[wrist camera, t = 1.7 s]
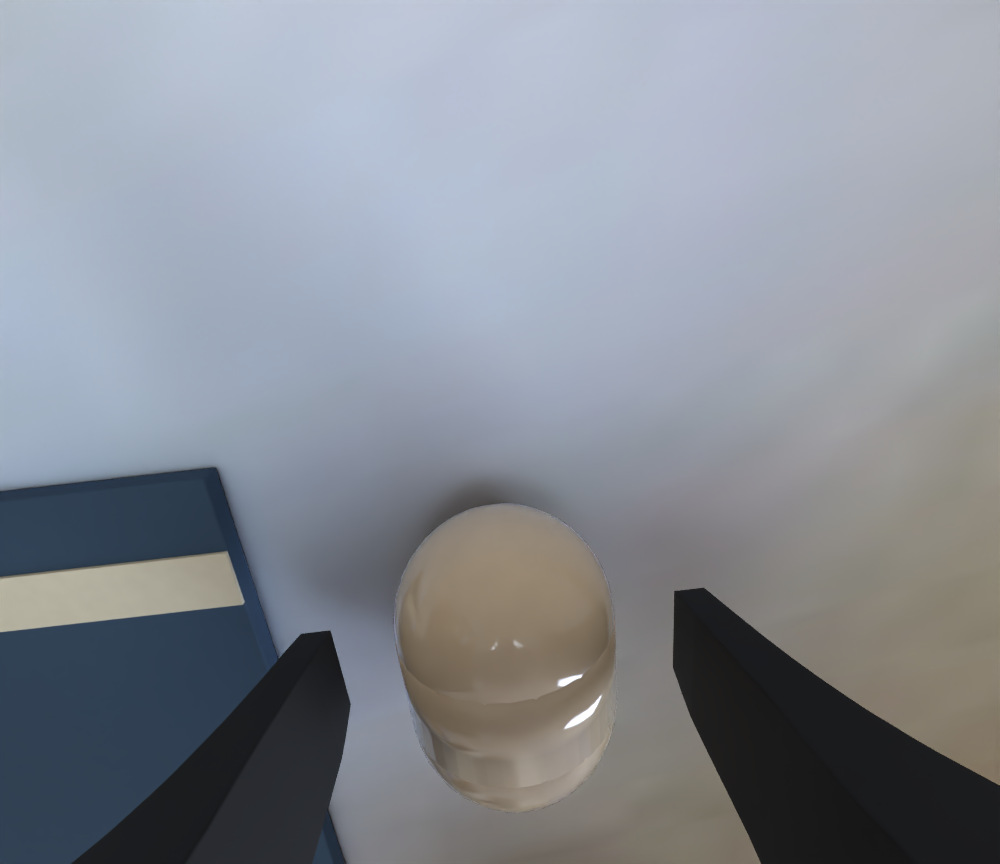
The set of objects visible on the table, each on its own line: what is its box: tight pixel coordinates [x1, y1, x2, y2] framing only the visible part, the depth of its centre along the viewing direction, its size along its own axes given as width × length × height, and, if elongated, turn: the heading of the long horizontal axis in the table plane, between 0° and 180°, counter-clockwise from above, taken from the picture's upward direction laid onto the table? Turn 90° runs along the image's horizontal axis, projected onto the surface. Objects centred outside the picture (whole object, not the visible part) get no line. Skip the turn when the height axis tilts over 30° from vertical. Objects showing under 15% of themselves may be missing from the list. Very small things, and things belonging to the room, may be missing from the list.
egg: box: [393, 503, 617, 813], centre depth 11 cm, size 6×4×4 cm
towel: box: [0, 468, 345, 864], centre depth 15 cm, size 22×14×1 cm, turn 6°
